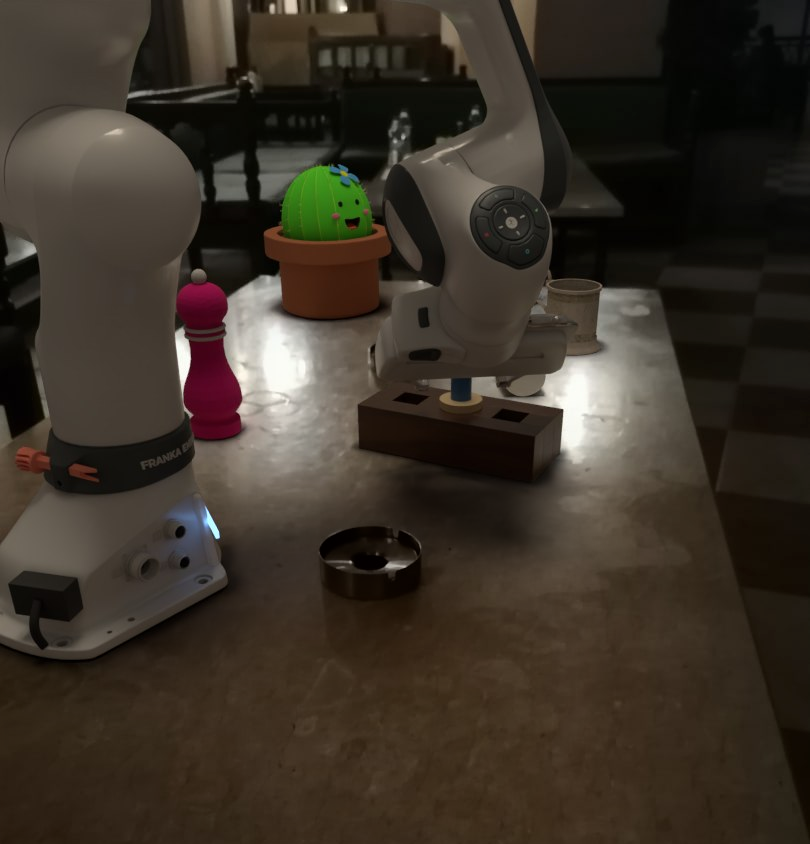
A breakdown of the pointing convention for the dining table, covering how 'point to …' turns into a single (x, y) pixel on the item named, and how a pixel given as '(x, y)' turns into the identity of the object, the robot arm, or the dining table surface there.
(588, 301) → the mug
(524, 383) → the roll
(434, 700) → the dining table surface
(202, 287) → the pepper mill
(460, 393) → the peg
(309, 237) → the potted cactus
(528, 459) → the stand
